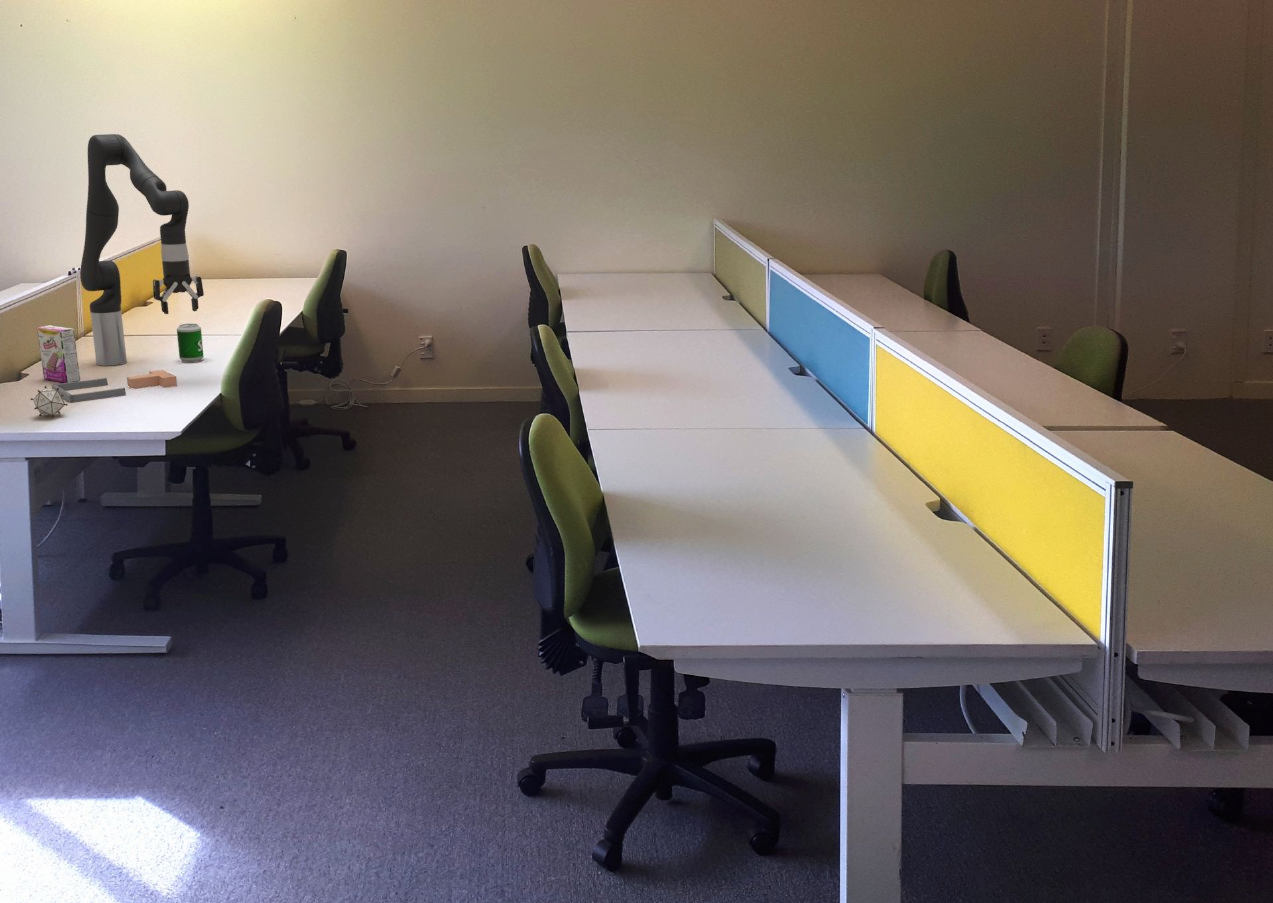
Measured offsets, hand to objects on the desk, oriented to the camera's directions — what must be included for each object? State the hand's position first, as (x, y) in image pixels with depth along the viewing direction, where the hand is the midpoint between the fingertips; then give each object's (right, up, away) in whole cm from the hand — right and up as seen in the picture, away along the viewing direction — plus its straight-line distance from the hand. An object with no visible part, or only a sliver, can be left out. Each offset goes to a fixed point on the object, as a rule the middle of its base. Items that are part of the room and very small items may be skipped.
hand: (180, 312), depth 369 cm
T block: (-9, -22, 0) cm, 24 cm away
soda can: (-9, -12, +34) cm, 38 cm away
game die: (-21, -33, -38) cm, 54 cm away
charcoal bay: (-22, -25, -11) cm, 35 cm away
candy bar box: (-38, -21, +5) cm, 44 cm away
